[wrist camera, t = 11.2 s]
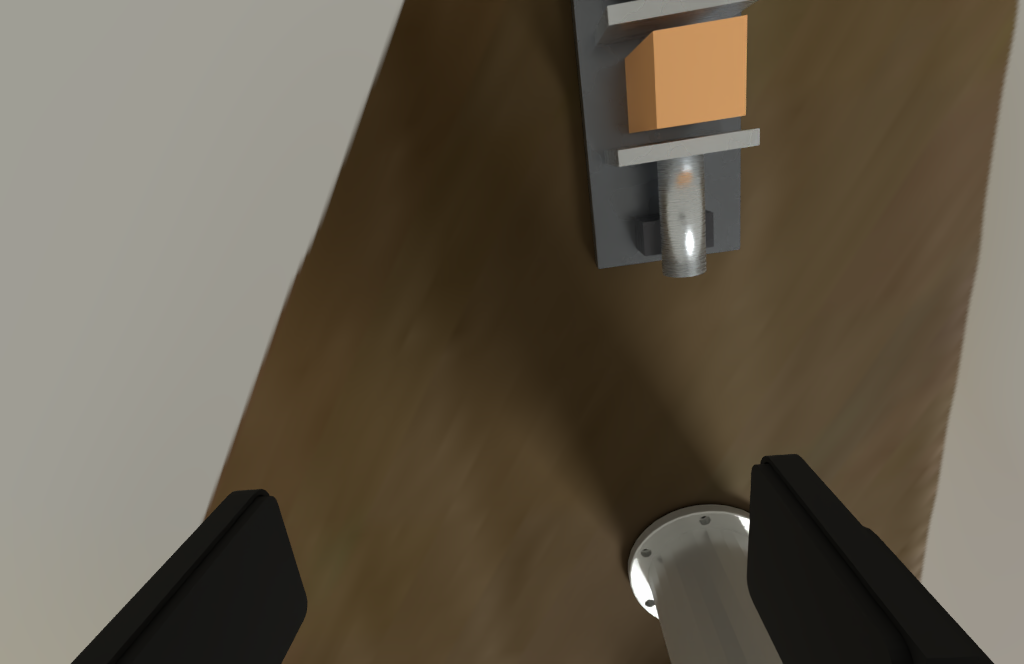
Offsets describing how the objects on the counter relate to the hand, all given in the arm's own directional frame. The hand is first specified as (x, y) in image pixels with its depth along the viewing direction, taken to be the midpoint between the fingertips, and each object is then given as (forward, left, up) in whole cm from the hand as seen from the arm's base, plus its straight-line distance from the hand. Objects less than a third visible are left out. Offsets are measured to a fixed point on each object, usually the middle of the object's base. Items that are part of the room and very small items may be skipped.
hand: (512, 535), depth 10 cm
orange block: (+9, -9, -24) cm, 28 cm away
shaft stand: (+9, -9, -26) cm, 29 cm away
